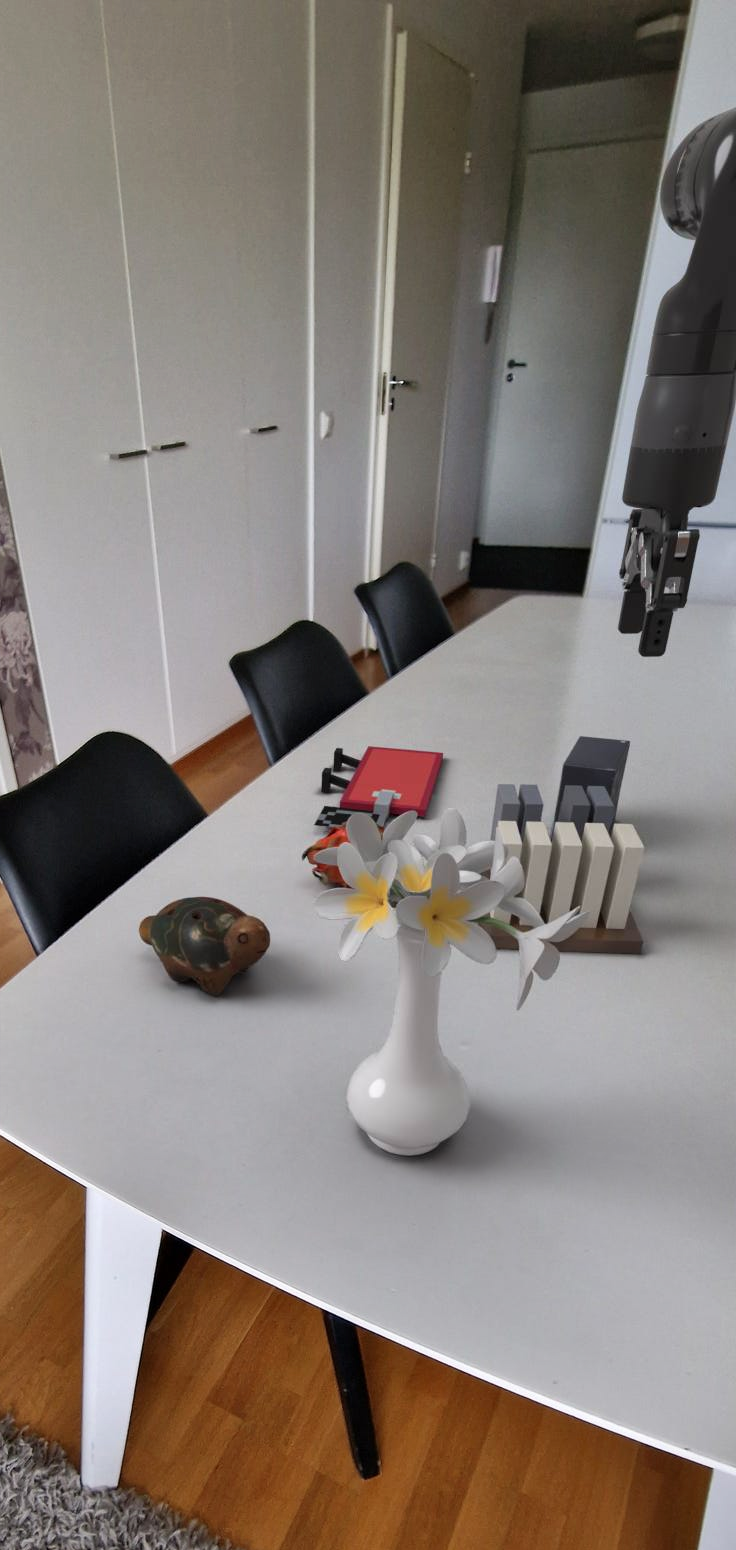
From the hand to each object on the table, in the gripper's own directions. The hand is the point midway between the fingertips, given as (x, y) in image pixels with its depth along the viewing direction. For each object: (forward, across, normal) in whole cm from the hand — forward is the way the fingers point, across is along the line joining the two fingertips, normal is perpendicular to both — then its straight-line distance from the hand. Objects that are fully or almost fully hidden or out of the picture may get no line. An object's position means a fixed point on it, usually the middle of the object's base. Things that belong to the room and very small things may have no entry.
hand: (639, 643), depth 86 cm
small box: (+27, +17, -2) cm, 32 cm away
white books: (+25, -7, +5) cm, 27 cm away
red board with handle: (+26, +28, +24) cm, 45 cm away
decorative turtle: (+26, -19, +41) cm, 52 cm away
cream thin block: (+25, -7, +5) cm, 27 cm away
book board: (+26, -2, +5) cm, 27 cm away
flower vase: (+26, -40, +21) cm, 52 cm away
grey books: (+25, +3, +5) cm, 26 cm away
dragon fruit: (+26, 0, +26) cm, 37 cm away
